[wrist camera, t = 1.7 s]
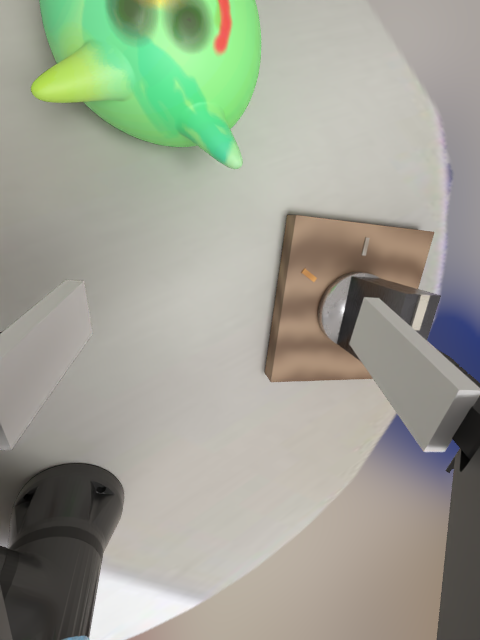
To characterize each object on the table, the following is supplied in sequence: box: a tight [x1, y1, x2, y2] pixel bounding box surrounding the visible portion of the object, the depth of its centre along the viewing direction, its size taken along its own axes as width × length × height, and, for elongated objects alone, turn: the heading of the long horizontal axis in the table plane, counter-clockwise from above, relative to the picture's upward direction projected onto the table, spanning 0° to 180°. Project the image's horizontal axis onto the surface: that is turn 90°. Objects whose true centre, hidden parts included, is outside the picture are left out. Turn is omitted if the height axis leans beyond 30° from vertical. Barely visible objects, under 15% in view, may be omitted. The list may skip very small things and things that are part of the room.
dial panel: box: [265, 215, 434, 382], centre depth 46 cm, size 24×22×3 cm
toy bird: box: [31, 0, 261, 169], centre depth 26 cm, size 18×17×15 cm
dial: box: [318, 272, 441, 361], centre depth 39 cm, size 11×11×12 cm
